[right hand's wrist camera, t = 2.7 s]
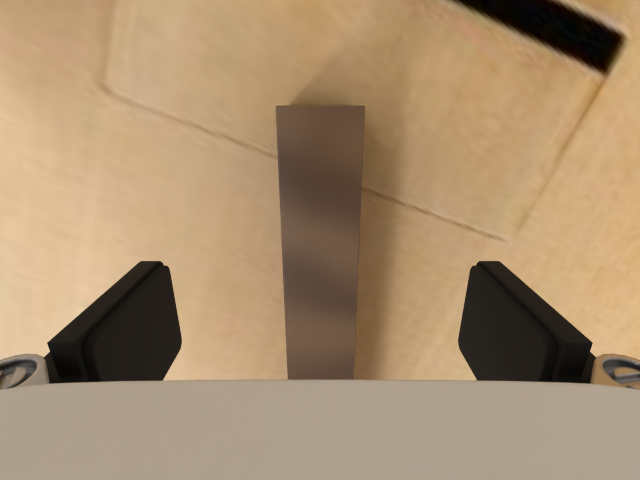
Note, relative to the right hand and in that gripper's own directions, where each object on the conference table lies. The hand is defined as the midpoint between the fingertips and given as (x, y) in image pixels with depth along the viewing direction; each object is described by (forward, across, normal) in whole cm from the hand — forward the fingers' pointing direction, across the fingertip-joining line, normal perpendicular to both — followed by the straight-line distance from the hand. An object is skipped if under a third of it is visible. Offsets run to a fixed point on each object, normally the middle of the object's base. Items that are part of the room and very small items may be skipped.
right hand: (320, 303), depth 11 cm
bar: (+16, 0, +25) cm, 30 cm away
